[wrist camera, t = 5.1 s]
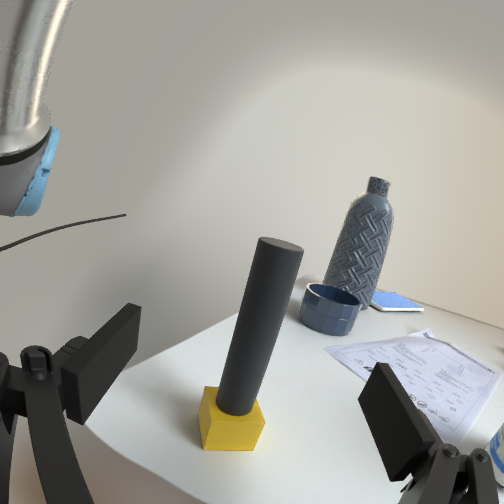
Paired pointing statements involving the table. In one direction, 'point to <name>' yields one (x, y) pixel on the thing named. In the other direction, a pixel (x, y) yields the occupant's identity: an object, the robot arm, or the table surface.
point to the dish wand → (250, 350)
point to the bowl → (329, 309)
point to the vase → (362, 243)
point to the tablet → (393, 302)
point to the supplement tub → (497, 454)
